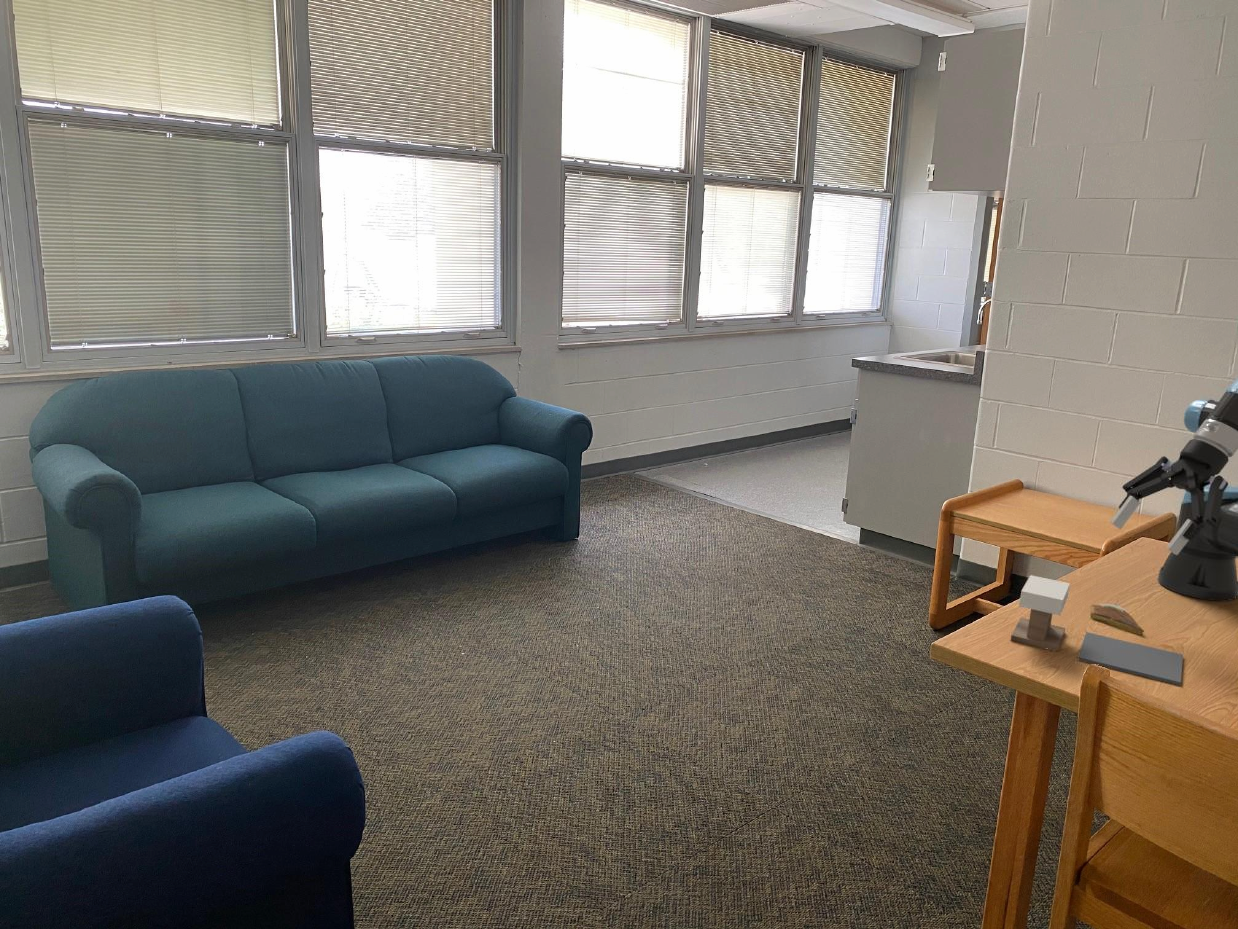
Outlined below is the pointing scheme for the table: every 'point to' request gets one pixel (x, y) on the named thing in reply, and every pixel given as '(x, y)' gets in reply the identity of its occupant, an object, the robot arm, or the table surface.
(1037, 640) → the walnut stand
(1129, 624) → the shard
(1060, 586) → the card box
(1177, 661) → the rubber mat
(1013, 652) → the table surface
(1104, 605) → the sign
